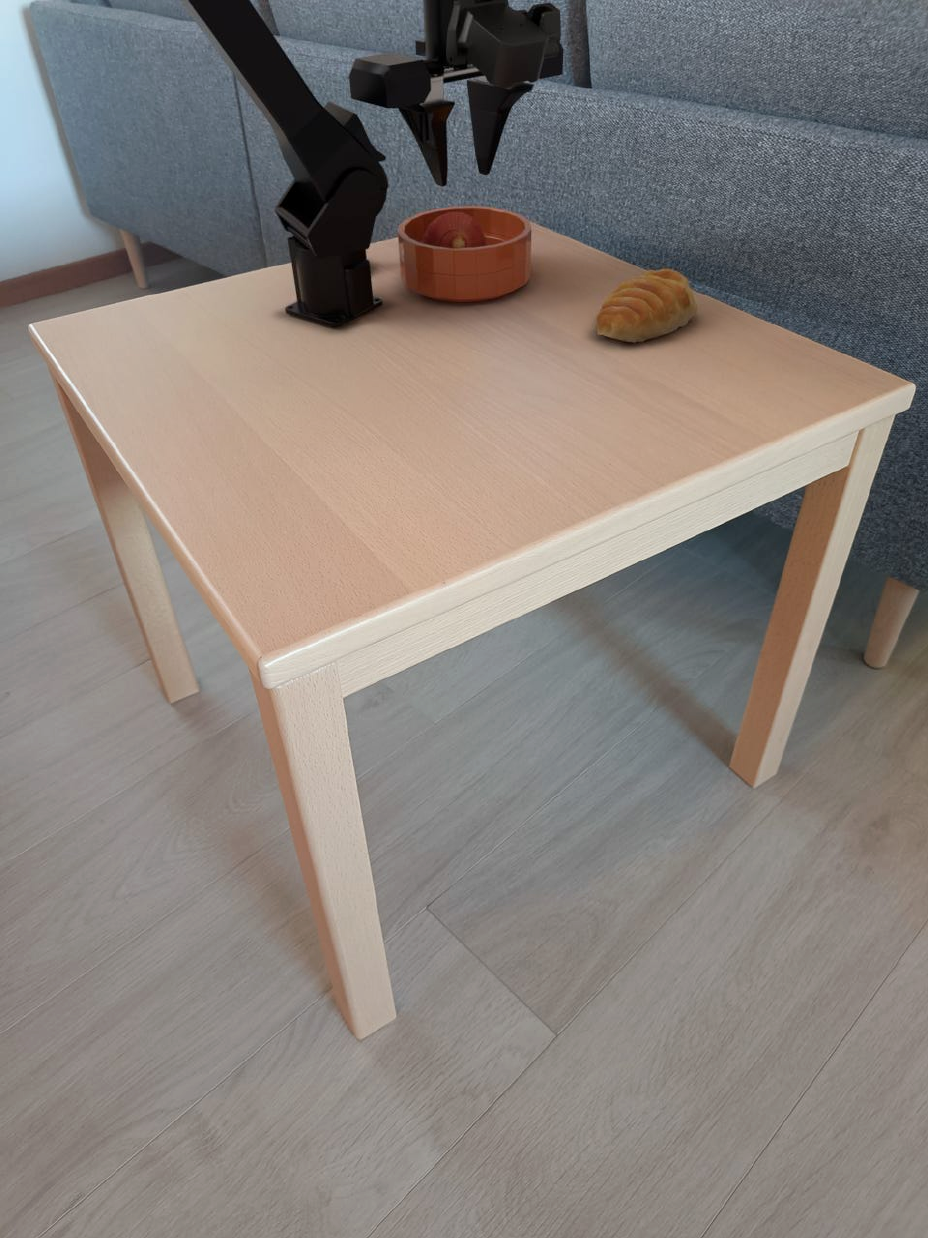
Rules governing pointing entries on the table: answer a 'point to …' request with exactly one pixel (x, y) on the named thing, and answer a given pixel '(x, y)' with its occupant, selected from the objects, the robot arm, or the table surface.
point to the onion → (454, 232)
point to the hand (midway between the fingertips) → (463, 179)
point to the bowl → (467, 257)
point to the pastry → (647, 307)
